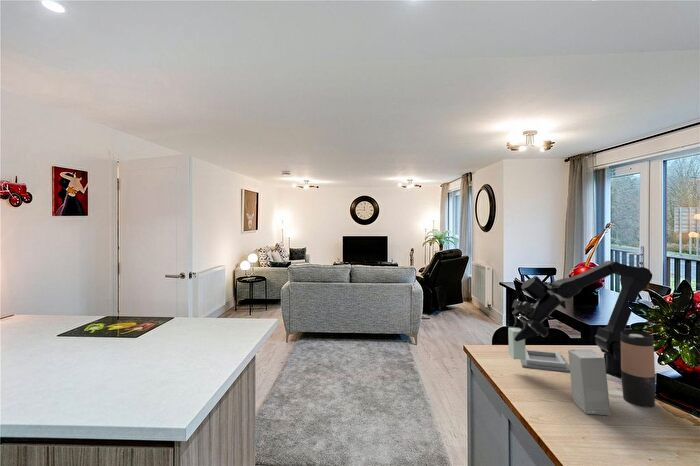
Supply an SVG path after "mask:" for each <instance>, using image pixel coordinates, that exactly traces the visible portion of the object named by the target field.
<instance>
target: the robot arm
mask: <svg viewBox="0 0 700 466" xmlns="http://www.w3.org/2000/svg"><path fill="white" fill-rule="evenodd" d="M613 274H614V275H618V276H619V281H620V282H619V283H620V286H621V289H620V291H619V294H618V296H617V300H616V301H615V304H614V307H613V309H612V312H611V314H610V317H609V320H608V322H607V324H606V325H605V326H604V327H600V326H598V328H597V330H596V333H595V335H594V336H593V337H595V340H594V341H595V343H596V346H597V347H598V348H599V349H600V351H601V353H603V356H602V357H603V358H605V366H606V374H608V375H611V376H614V377H617V378H621V379H622V374H621V334H620V333H621V331H626V327H627V325H628V322H629V320H630V317H631V315H632V312H633V310H632V311H631V309H630V308H629V306H628V305H627V302H628V301H629V302H635V303H637V299H638V296H639V294H640V293H641V292H642V291H644V290H645V289H646V288H648V286H649V284H650V283H651V281H652V280H653V273H652V272H651V270H650V269H649V268H647V267H643V266H636V265H627V264H623V263H620V262H618V261H612V260H606V261H604V262H602V263H600V264H598V265H596V266H595V267H591V268H590V269H587V270H586V271H584V272H581V273H579V274H577V275H574V276H571V277H570V276H569V277H565V278H560V279H557V280H554V281H552V283H547V284H546V283H544V282H543V280H541V279H540V278H539V276H537V275H533V277H530V278H528V279H527V280H525V281H524V282H523V283H522V284H521V289H522V290H523V291H524V292H525V293H526V294H527V295H529V296H530V298H532V299H533V300H537V301H536V302H535V303H529V302H527V301H523V302H522V301H519V300H517V299H514V301H513V302H512V306H511V308H512V309H514V310H513V311H512V312H511V313H512V315H513V318H514V323H513V326H512V328H521V329H522V330H521V331H520V332H519V333H518V335H517V336H516V337H515V339H514V340H515V341H520V340H523V339H525V340H526V339H529V338H533V337H539V336H541V337H543V338H546V337H547V336H548V335H549V334H550V333H549V329H548V328H547V327H546V326H545V325H544V324H543V322H544V321H545V320H546V319H547V320H549V319H551V316H550V315H551V314H552V313H553V312H554V311H556V309H558V307H559V308H562V309H566V308H567V307H566V300H567V299H571V298H572V297H574V296H576V295H577V294H579V293H580V292H581V291H582V289H583V288H585V287H587V286H589V285H591V284H593V283H595V282H598V281H601V280H602V279H605V278H606V277H609V276H611V275H613ZM551 293H552V294H551ZM560 298H563V299H566V300H563V299H560Z"/></svg>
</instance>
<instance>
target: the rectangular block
mask: <svg viewBox="0 0 700 466" xmlns="http://www.w3.org/2000/svg"><path fill="white" fill-rule="evenodd" d="M521 330H522V329H521V328H513V327H508V329H507V332H508V333H507V335H508V336H507V337H508V355H509V356H510V357H511V358H512V359H513V360H520V359H526V355H525V349H526V339H523V340H520V341H515V340H514V339H515V337H516V336H517V335H518V333H519V332H520V331H521Z"/></svg>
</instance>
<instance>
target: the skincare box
mask: <svg viewBox="0 0 700 466" xmlns="http://www.w3.org/2000/svg"><path fill="white" fill-rule="evenodd" d="M567 354H568V361H569V363H568V365H569V366H570V372H569V373H570V383H571V395H572V396H571V397H572V402H574V403H575V405H577V406H578V407H579V408H580V410H582V411H583V412H584V414H586V415H603V416H611V406H610V397H609V386H608V379H607V378H608V377H607V373H606V366H605V358H603V357H604V356H602V355H600V354H598V353H596V352H595V351H593V350H591V349H568V350H567Z"/></svg>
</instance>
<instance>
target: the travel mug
mask: <svg viewBox="0 0 700 466" xmlns="http://www.w3.org/2000/svg"><path fill="white" fill-rule="evenodd" d="M620 334H621V374H622V377H621V387H622V396H623V400H624V401H626V402H627V403H629V404H632V405H634V406H638V407H643V408H652V407H654V406H655V403H656V401H655V400H656V367H655V364H656V363H655V342H654V335H652V334H650V333H647V332H644V331H643V332H642V331H637V330H624V331H621V333H620Z"/></svg>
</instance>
